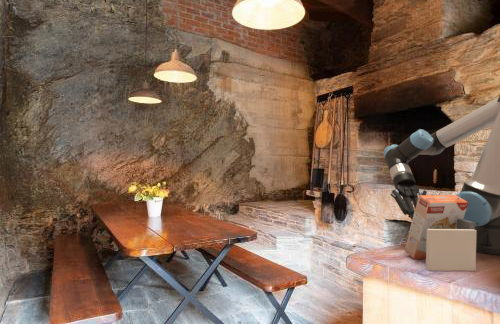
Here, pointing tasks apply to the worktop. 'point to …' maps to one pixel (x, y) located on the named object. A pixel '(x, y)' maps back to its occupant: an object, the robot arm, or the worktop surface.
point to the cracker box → (433, 220)
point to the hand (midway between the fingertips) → (423, 230)
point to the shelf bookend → (452, 248)
